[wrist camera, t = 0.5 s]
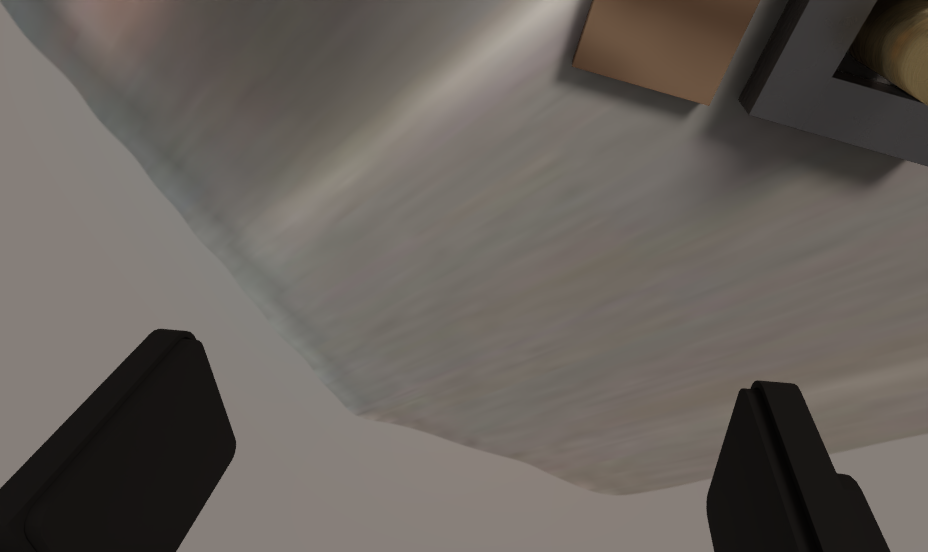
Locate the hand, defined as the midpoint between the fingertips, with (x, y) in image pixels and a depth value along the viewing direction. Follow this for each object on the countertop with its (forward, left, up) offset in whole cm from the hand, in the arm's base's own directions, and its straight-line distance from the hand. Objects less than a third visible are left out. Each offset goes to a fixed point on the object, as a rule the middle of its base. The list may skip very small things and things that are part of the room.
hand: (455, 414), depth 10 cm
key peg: (-5, +19, -33) cm, 39 cm away
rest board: (-5, +7, -33) cm, 34 cm away
